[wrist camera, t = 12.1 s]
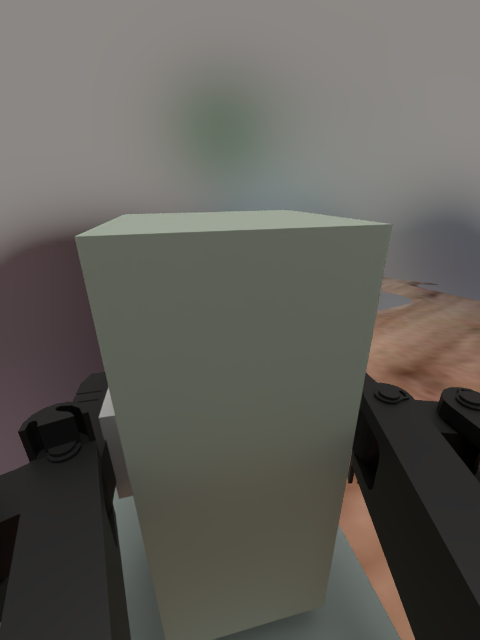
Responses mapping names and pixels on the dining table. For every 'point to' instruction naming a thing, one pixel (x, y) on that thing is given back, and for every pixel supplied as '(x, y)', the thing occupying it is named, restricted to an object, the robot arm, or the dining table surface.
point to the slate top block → (278, 636)
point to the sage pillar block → (235, 398)
